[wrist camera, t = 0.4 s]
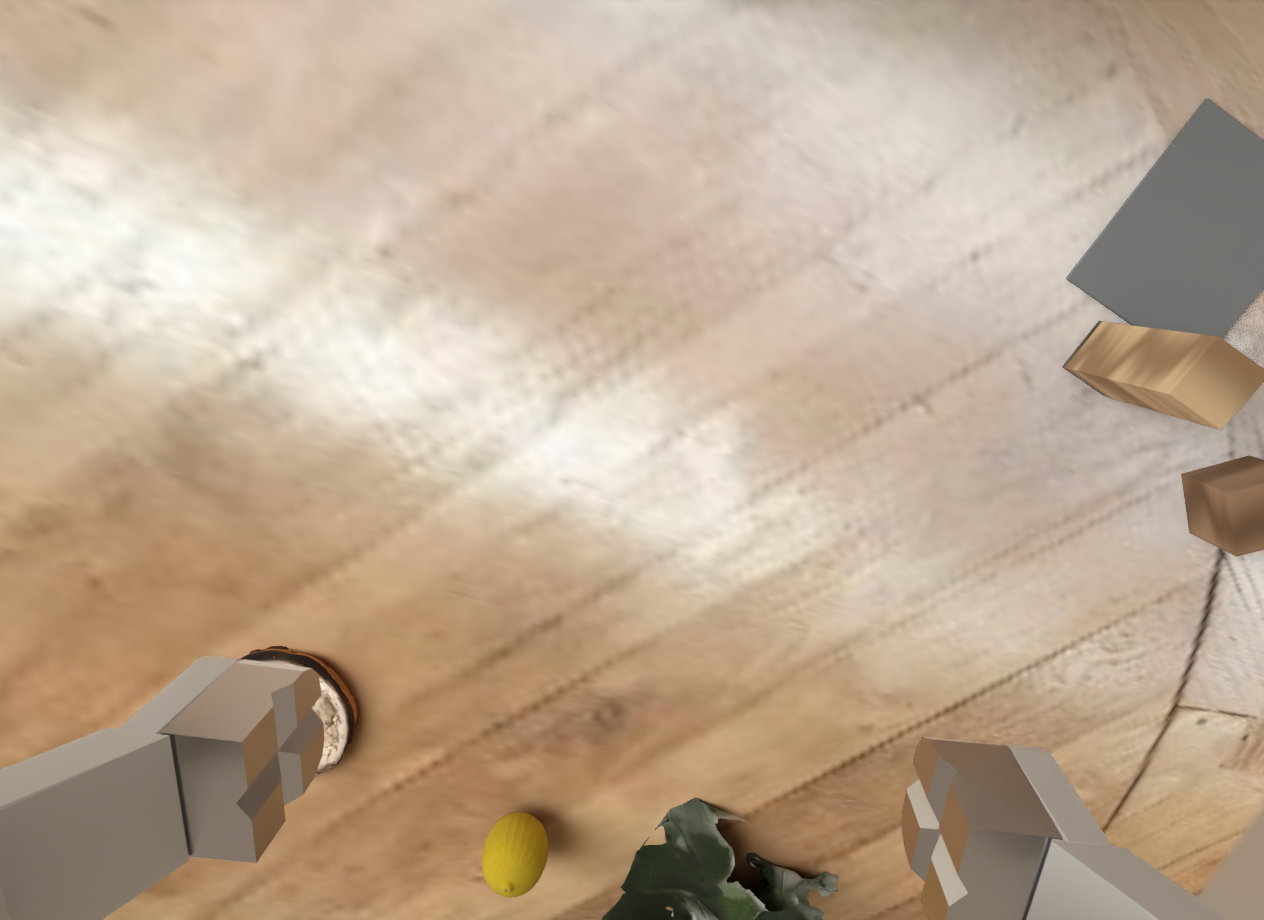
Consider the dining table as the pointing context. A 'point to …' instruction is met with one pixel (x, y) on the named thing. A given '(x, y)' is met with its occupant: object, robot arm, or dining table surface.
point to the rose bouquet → (709, 877)
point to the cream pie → (321, 701)
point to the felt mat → (1186, 233)
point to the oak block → (1167, 371)
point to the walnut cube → (1227, 504)
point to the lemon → (515, 854)
